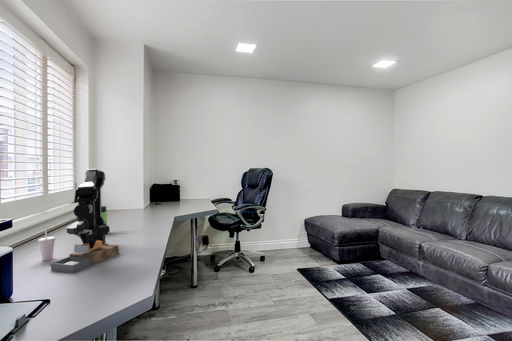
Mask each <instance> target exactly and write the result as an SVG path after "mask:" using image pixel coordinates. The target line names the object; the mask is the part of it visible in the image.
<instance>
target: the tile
mask: <svg viewBox="0 0 512 341" xmlns="http://www.w3.org/2000/svg"><path fill="white" fill-rule="evenodd" d="M77 263H80V262H74V261H70V262H67V263H65V264H68V265H75V264H77Z"/></svg>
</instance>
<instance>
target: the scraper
mask: <svg viewBox="0 0 512 341" xmlns="http://www.w3.org/2000/svg"><path fill="white" fill-rule="evenodd" d="M73 246H74V249H73V250H74V252H81V253H88V252H89V251H90V250H94V249H97V248H101V247H102V241H99V240H98V241H96V242H95V245H94V247H93V248H92V249H90V245H89V243H86V244H83V243H82V244H74V245H73ZM74 252H73V253H74Z"/></svg>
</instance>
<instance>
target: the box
mask: <svg viewBox="0 0 512 341" xmlns="http://www.w3.org/2000/svg"><path fill="white" fill-rule="evenodd" d="M70 261H74V262H80V263H77V264H75V265H68V264H65V263H67V262H70ZM90 266H92V265H91V260H90V258H79V257H70V256H66V257H64V258H61V259H59V260H55V261H52V262H51V263H50V270H51V271H53V272H61V273H62V272H63V273H69V274H75V273H77V272H79V271H82V270H83V269H86V268H89V267H90Z"/></svg>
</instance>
